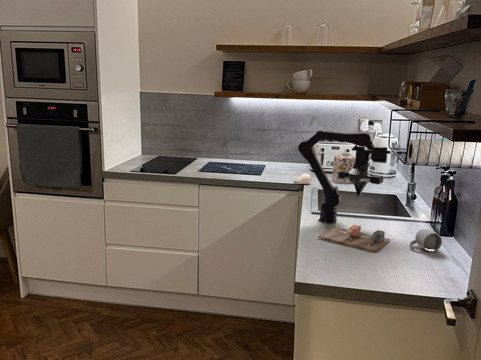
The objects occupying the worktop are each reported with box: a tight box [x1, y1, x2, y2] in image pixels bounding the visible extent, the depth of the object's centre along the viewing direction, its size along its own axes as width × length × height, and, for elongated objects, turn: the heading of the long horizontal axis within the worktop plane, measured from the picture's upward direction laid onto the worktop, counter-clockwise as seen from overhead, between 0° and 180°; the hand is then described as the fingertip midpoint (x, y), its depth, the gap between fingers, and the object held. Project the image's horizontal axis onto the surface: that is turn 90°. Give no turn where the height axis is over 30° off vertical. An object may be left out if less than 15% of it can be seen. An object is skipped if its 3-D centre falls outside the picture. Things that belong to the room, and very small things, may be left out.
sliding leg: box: [347, 224, 362, 239], centre depth 194 cm, size 3×10×3 cm, turn 145°
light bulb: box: [293, 173, 312, 186], centre depth 285 cm, size 7×7×11 cm
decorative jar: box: [331, 151, 355, 185], centre depth 294 cm, size 12×12×18 cm
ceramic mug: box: [409, 228, 443, 252], centre depth 186 cm, size 11×8×8 cm
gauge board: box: [317, 225, 391, 253], centre depth 194 cm, size 24×16×4 cm, turn 55°
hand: (358, 196), depth 211 cm, fingers closed
